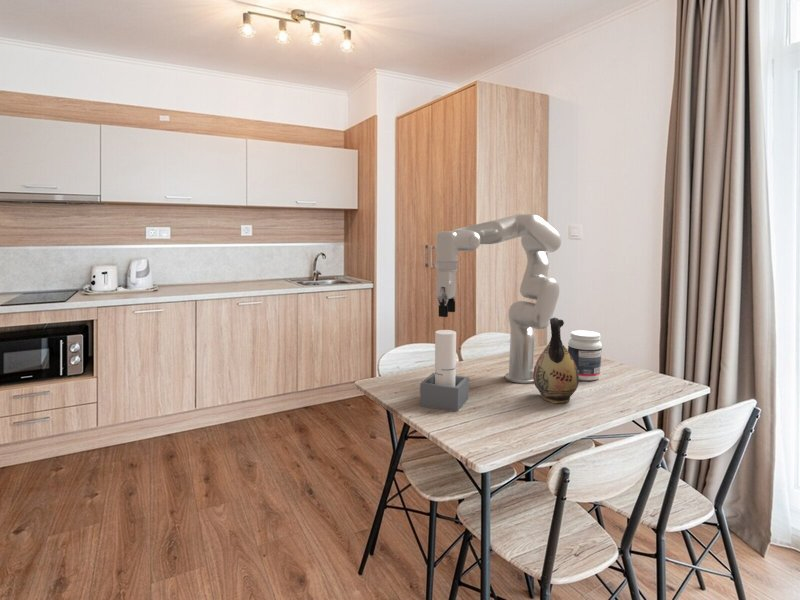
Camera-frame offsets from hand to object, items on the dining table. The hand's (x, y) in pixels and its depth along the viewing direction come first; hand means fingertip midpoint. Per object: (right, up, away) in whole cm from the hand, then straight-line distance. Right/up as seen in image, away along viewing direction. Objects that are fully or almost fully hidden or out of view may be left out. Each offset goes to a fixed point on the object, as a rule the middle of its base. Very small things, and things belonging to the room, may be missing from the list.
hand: (447, 314), depth 175 cm
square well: (-1, -31, -4) cm, 31 cm away
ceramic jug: (+38, -31, -1) cm, 49 cm away
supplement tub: (+58, -27, +26) cm, 69 cm away
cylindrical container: (-1, -31, -4) cm, 31 cm away
